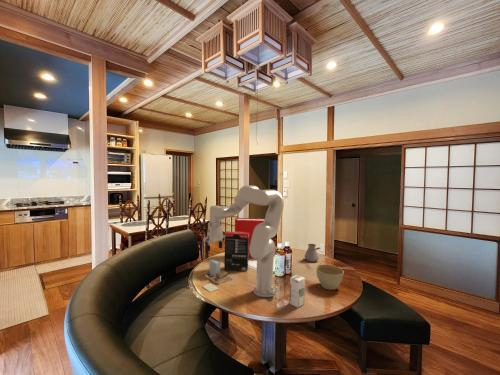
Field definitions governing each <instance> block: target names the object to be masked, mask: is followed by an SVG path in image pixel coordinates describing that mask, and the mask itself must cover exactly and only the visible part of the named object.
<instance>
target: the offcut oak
mask: <svg viewBox="0 0 500 375" xmlns="http://www.w3.org/2000/svg"><path fill="white" fill-rule="evenodd" d="M229 276H230V275H228V276H227V277H225V278H223V279H218V278H216V277H215V280H216V281H218V282H220V281H222V280H225V279H228V278H229Z"/></svg>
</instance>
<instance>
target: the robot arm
mask: <svg viewBox="0 0 500 375" xmlns="http://www.w3.org/2000/svg"><path fill="white" fill-rule="evenodd" d="M233 201H234V202H233V203H231V204H230V205H227V206H220V205H210V207H209V222H208V223H207V225H208V228H207V231H206V232H207V235H206V236H205V237H204V238H203V239H202V241H203V242H204V244H205V245H206V246H205V248H206V249H205V250H206V251H207V252H210V251H211V245H210V244H211V243H217V242H218V248H219V249H223V243H224V242H225V236H226V235H225V233H223V226H222V220H223V219H227V218H232V217H234V216H236V215H237V214H239V213H240V212H241V211H243V209H244V208H245V207H246V206H247V205H249V204H253V205H257V206H260V207H261V206H263V207H264V206H269V207H268V209H267V210H266V213H265V218H264V219H265V220H264V222H263V223H260V224H258V225H257V226H256V227H255V229H254V231H253V235H252V239H251V243H250V248H249V251H250V255H251V256H252V258H254V259H253V260H256V286H255V287H254V288H253V294H254V295H255V296H257V297H260V298H271V297H273V296H274V297H276V296H277V293H278V290H276V289H275V286H274V262H275V260H274V258H275V251H276V244H275V242H274V240H273V239H272V238H274V237H275V236H276V235H277V234H278V231H279V226H280V222H281V218H282V214H283V211H284V205H285V203H284V202H285V201H284V198H283V195H282V194H281V193H280V192H279V191H278V190H276V189H260V188H259V187H258V186H256V185H250V184H249V185H243V186H242V187H240V189H239V190H238V194H237V195H235V196H234V199H233ZM252 258H251V259H252Z"/></svg>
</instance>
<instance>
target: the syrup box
mask: <svg viewBox="0 0 500 375" xmlns="http://www.w3.org/2000/svg"><path fill="white" fill-rule="evenodd" d="M305 289H306V277H303V276H301V275H299V274H295V275H294V276H290V279H289V299H288V302H289V305H292V307H293V306H294V307H295V308H301V307H302V306H304V305H305V296H306V295H305V294H306V290H305Z"/></svg>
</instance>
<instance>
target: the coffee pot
mask: <svg viewBox="0 0 500 375" xmlns="http://www.w3.org/2000/svg"><path fill="white" fill-rule="evenodd" d="M307 246H308V248H307V250H306V251H305V253H304V259H305V260H306V261H308V262H310V263H315V262H318V260H319V259H320V257H319V253H318V252H317V251H318V250H320V249H321V247H316V246H317V245H316V244H315V243H308V244H307Z"/></svg>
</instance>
